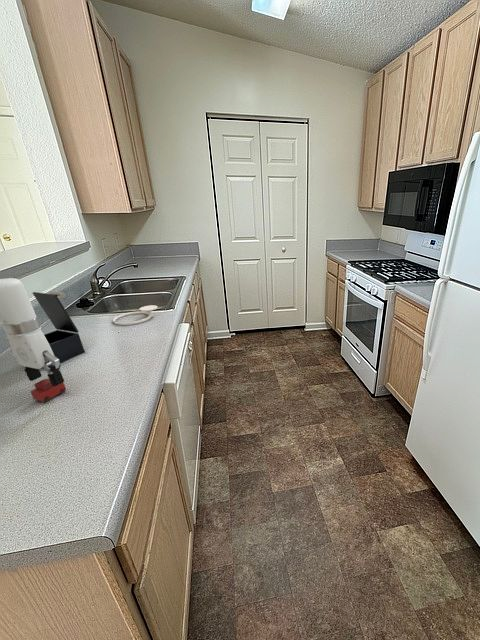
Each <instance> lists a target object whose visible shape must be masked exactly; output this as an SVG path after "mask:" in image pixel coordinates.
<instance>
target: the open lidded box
mask: <svg viewBox="0 0 480 640" xmlns="http://www.w3.org/2000/svg"><path fill="white" fill-rule="evenodd" d="M43 334H44V333H43ZM44 336H45V338H46V339H47V341H48V343H49V345H50V347H51V349H52V351H53V354H54V356H55V357H56V358H58V359H59V361H60V364H62V363H65V362H67V361H69V360H71V359H74V358H76V357H78V356H80V355H82V354H85V353H86V351H85V348H84V345H83V342H82V339H81V336H80V334H79V332H78V333H75V332H70V331H64V330H58V329H55V330H53V331H51V332H48V333H45V334H44ZM46 363H48V362H45V364H46ZM51 366H52V365H49V366H48V367H49V368H51ZM41 369H44V368H43V367H42V368H41Z"/></svg>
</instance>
